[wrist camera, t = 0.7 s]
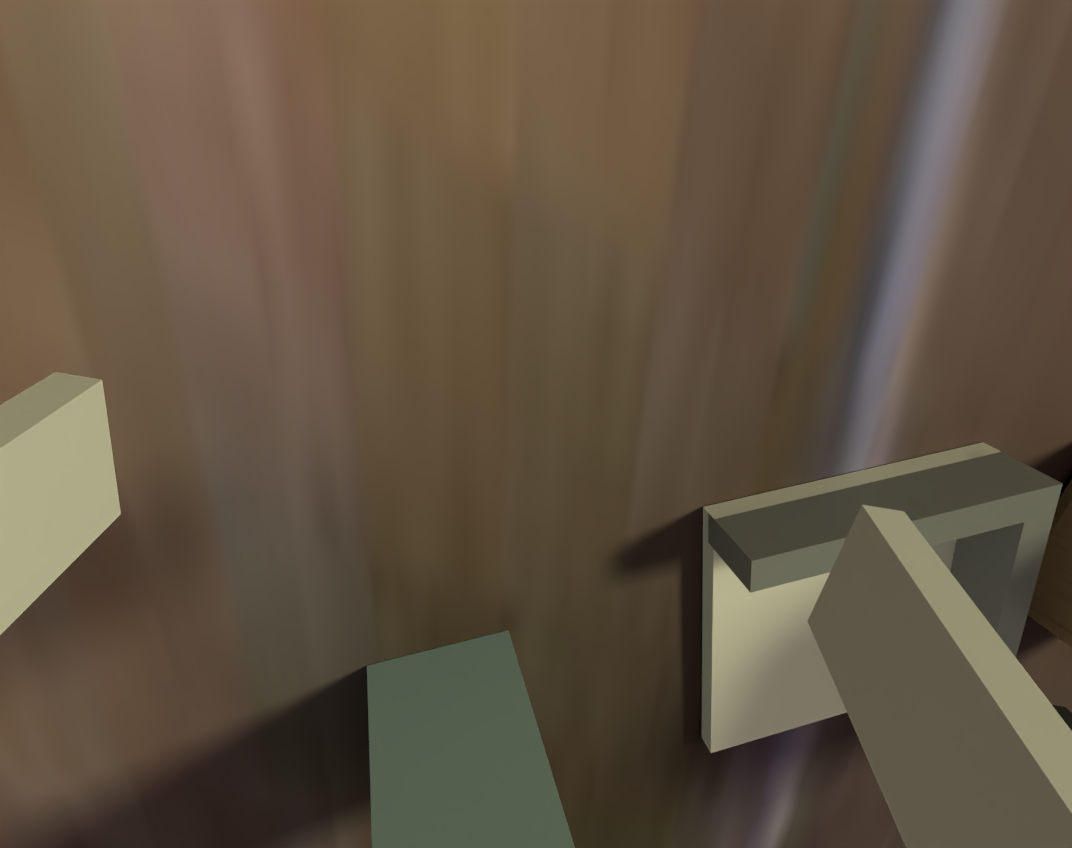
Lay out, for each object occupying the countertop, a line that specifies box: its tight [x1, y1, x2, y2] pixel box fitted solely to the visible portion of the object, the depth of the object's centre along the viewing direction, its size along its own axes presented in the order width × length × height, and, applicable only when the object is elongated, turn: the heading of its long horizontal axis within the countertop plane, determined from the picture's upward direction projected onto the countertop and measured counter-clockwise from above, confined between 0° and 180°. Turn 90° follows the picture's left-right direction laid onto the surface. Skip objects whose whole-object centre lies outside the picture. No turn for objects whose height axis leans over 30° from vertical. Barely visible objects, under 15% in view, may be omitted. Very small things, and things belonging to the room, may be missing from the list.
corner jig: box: [702, 442, 1063, 753], centre depth 32 cm, size 14×14×4 cm
